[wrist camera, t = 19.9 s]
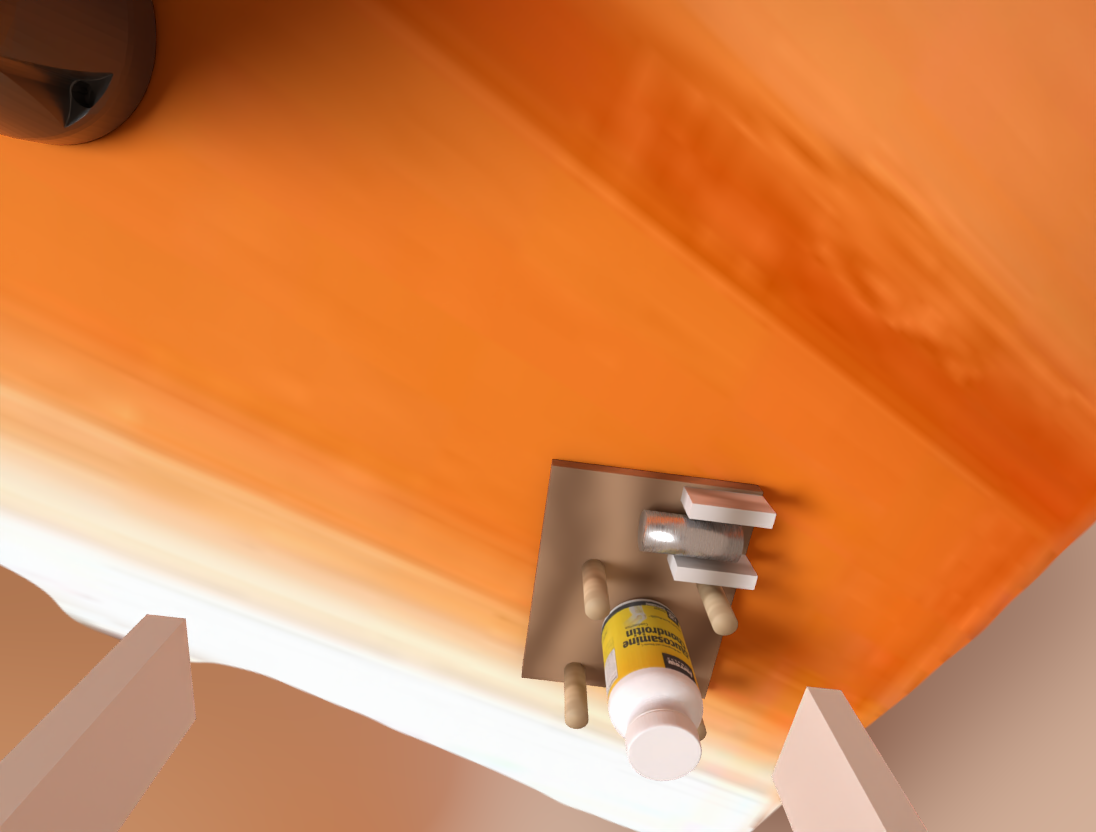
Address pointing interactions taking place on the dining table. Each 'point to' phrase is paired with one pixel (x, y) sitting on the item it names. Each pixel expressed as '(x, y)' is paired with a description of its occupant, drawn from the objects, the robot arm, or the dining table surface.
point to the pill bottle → (652, 689)
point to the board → (629, 570)
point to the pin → (689, 537)
